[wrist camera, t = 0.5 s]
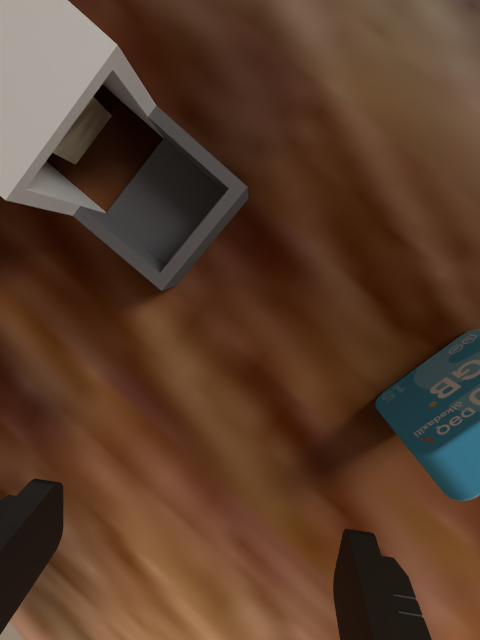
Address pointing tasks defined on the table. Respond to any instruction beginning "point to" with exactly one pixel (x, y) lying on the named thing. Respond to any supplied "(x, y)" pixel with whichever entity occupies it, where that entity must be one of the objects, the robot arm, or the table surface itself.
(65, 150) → the maple block
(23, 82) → the tunnel
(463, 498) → the data package
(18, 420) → the table surface
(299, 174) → the table surface
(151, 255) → the grey open box
